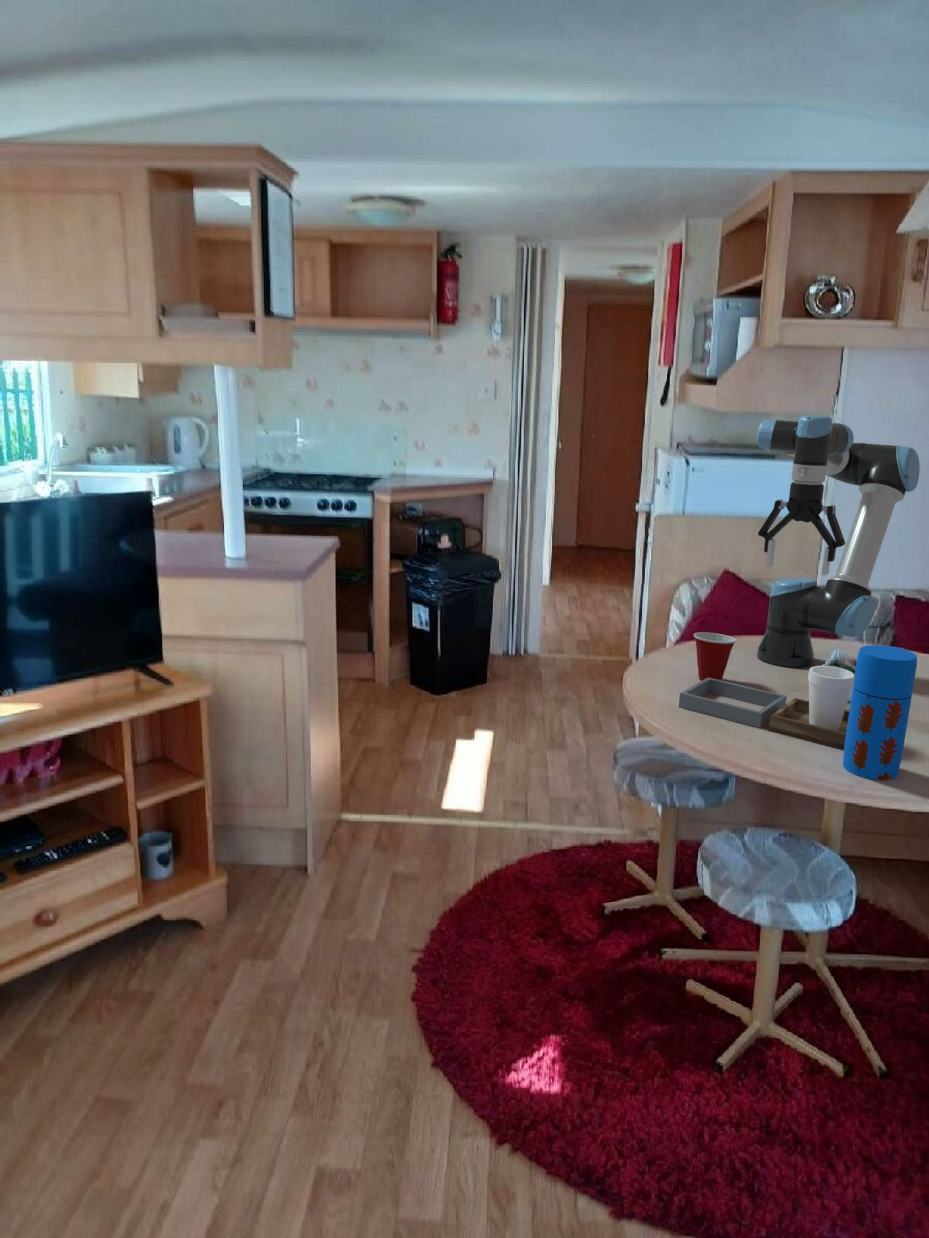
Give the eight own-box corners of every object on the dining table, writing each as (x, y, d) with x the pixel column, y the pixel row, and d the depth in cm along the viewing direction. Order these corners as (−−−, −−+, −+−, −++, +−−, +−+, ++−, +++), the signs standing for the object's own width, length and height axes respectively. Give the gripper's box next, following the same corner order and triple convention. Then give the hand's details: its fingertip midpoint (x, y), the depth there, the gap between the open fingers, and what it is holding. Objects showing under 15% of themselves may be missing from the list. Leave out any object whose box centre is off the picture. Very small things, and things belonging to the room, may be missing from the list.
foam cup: (849, 737, 208) (857, 680, 205) (805, 732, 210) (813, 676, 207) (842, 721, 217) (849, 667, 214) (799, 717, 219) (807, 664, 216)
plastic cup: (738, 679, 248) (743, 635, 245) (720, 689, 240) (725, 644, 237) (700, 670, 255) (705, 627, 252) (681, 679, 247) (686, 635, 244)
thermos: (909, 780, 189) (929, 661, 183) (857, 780, 188) (875, 660, 182) (881, 758, 200) (899, 644, 193) (832, 758, 199) (849, 644, 192)
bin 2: (793, 711, 226) (795, 697, 225) (881, 733, 214) (883, 718, 213) (768, 730, 214) (770, 715, 213) (860, 753, 202) (862, 738, 201)
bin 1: (706, 690, 239) (708, 677, 238) (785, 709, 227) (786, 695, 226) (678, 706, 226) (679, 693, 226) (759, 727, 215) (761, 713, 214)
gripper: (750, 478, 229) (741, 564, 235) (857, 489, 214) (844, 580, 220) (762, 476, 235) (752, 560, 240) (866, 486, 220) (854, 575, 226)
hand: (796, 570), depth 230 cm, fingers open, 13 cm apart
